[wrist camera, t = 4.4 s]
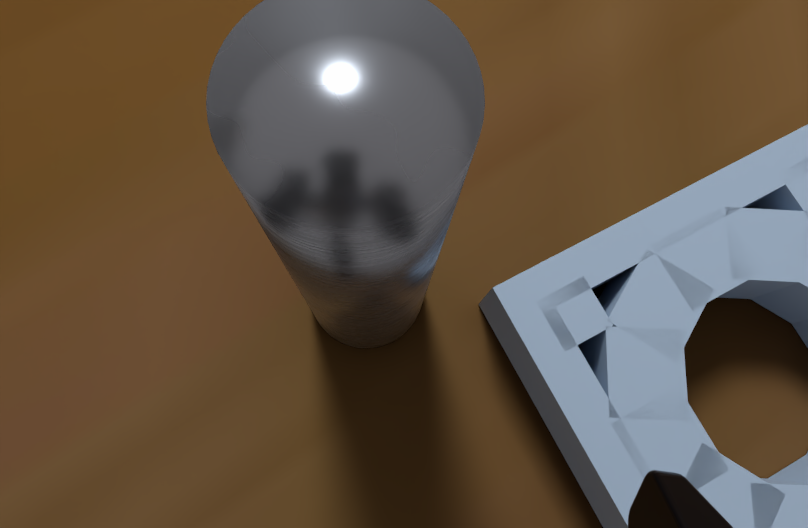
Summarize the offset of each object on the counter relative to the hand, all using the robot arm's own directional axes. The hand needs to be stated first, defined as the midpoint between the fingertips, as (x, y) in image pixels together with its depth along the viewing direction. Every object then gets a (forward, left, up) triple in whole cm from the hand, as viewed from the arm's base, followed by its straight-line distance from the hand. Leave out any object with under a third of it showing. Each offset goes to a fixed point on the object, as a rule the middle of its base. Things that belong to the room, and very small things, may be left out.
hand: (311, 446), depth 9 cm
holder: (-4, -12, -11) cm, 17 cm away
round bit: (+4, -3, -11) cm, 12 cm away
